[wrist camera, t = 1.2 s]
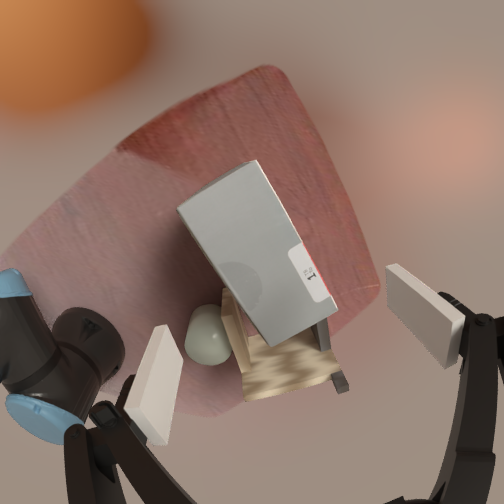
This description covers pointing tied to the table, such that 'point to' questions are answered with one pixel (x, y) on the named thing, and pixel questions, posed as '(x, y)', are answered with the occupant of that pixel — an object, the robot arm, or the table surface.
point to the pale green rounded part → (207, 336)
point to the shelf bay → (280, 357)
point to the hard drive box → (257, 253)
